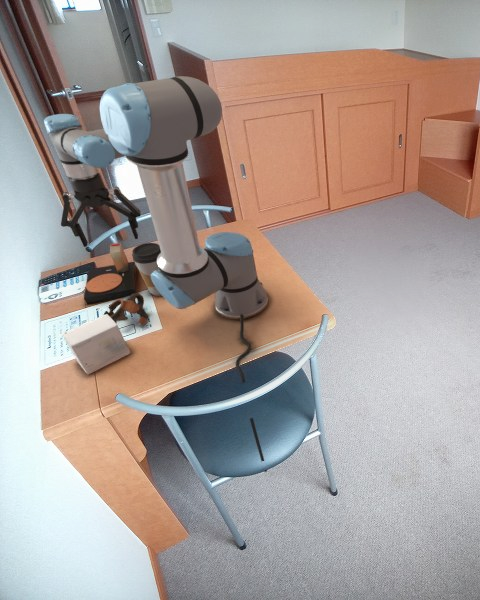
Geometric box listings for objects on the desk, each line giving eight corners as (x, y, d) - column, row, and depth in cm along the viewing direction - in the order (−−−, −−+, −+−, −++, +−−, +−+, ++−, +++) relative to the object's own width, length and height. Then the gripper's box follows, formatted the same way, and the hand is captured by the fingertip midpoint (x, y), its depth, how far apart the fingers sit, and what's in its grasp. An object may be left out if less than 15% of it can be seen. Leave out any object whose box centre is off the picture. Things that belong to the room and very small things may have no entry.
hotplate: (143, 293, 132) (140, 286, 130) (87, 304, 126) (83, 297, 125) (143, 263, 144) (140, 257, 142) (91, 272, 139) (88, 265, 137)
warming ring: (121, 288, 129) (121, 287, 129) (84, 295, 126) (84, 294, 125) (122, 271, 136) (122, 270, 136) (87, 278, 132) (87, 277, 132)
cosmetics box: (88, 376, 106) (70, 346, 99) (78, 362, 109) (59, 333, 102) (131, 353, 112) (117, 324, 106) (121, 342, 115) (106, 312, 109)
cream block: (128, 271, 136) (119, 250, 131) (118, 273, 135) (109, 252, 130) (128, 262, 140) (120, 242, 135) (119, 264, 139) (110, 243, 134)
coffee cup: (179, 291, 133) (166, 251, 124) (151, 301, 129) (134, 260, 120) (171, 279, 138) (157, 239, 129) (143, 288, 134) (126, 247, 124)
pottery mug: (142, 334, 118) (115, 318, 113) (120, 340, 122) (93, 325, 116) (160, 300, 126) (136, 283, 120) (139, 306, 129) (114, 290, 123)
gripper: (134, 164, 125) (156, 228, 138) (31, 174, 116) (65, 241, 129) (134, 174, 120) (156, 239, 133) (26, 185, 111) (62, 254, 124)
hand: (111, 240), depth 131 cm, fingers open, 13 cm apart
